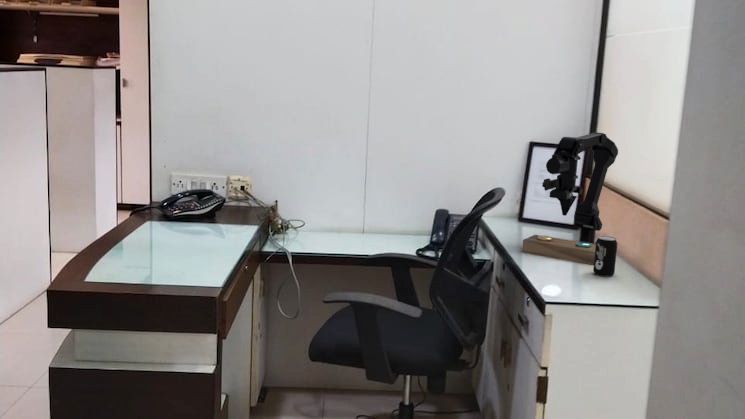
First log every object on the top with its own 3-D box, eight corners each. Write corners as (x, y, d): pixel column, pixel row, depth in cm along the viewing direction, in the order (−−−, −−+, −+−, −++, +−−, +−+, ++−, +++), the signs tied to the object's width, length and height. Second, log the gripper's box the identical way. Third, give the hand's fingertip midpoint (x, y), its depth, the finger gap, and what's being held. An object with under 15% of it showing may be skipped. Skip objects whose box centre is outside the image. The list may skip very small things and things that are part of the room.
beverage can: (615, 277, 235) (619, 240, 233) (593, 275, 237) (597, 239, 235) (612, 272, 242) (616, 236, 240) (592, 270, 243) (595, 234, 241)
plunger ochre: (539, 248, 270) (541, 234, 269) (553, 251, 267) (554, 237, 266) (534, 251, 265) (536, 237, 265) (548, 253, 263) (549, 239, 262)
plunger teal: (577, 255, 262) (579, 240, 261) (591, 257, 260) (593, 243, 259) (573, 257, 258) (574, 243, 257) (587, 260, 255) (588, 245, 254)
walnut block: (534, 246, 274) (535, 234, 274) (604, 258, 261) (605, 245, 260) (521, 252, 264) (522, 239, 264) (594, 264, 251) (595, 251, 250)
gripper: (555, 168, 277) (551, 209, 280) (537, 172, 261) (533, 215, 264) (584, 171, 271) (580, 213, 274) (568, 175, 255) (564, 220, 258)
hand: (564, 215), depth 268 cm, fingers closed
